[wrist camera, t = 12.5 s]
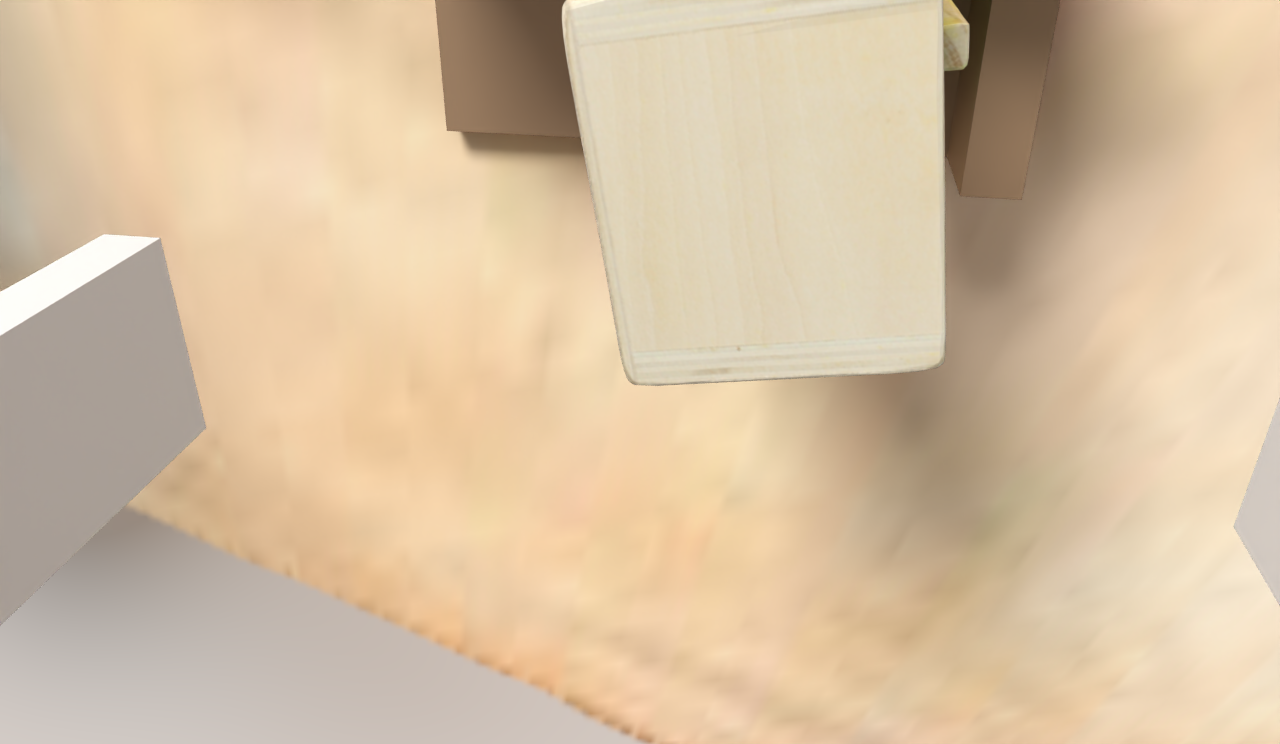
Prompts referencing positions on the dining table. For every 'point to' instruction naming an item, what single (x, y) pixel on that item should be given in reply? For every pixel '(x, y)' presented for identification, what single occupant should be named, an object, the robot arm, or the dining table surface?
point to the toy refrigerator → (768, 181)
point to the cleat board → (544, 105)
